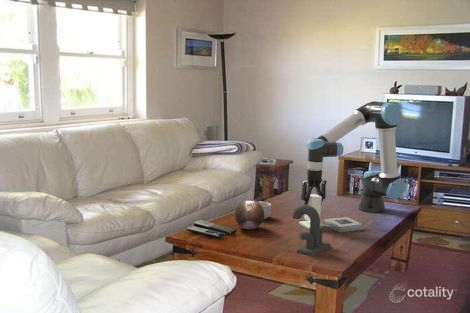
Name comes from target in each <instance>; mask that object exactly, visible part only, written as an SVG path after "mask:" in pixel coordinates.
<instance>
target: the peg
mask: <svg viewBox="0 0 470 313" xmlns="http://www.w3.org/2000/svg"><path fill="white" fill-rule="evenodd" d="M321 200H322V197H321V196H319V195H317V193H313V194H312V193H311V194H310V198H309V202H310V206H312V207H313V208H315V209H316V211H317V212H318V214H319V216H320V220H321V218H322V217H321V216H322V214H321V213H322V206H321ZM304 220H305V221H309V222H310V217H309V216H308V215H306V214H304Z"/></svg>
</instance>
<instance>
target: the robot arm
mask: <svg viewBox="0 0 470 313" xmlns="http://www.w3.org/2000/svg"><path fill="white" fill-rule="evenodd" d="M401 119H402V111H401V108H400V107H399V106H398V105H397V104H396V103H392V102H387V101H376V100H375V101H369V102H367V103H365V104H363V105H361V106H360V107H358V108H356V109H355V110H353V111H352V114H351V115H349V116H348V117H346V118H345V119H343V120H342V121H340V122H339V123H337V124H336V125H335V126H333V127H331V128H329V130H326V131H325V132H324V133H323V134H321V135H320V136H318V137H317V138H315V137H314V138H313V137H311V138H310V139H308V140H307V142H306V148H307V150H308V154H307V155H308V156H307V158H308V159H307V173H306V174H307V175H306V176H307V178H306V180H302V181H301V185H302V186H301V198H300V200H302V201H303V202H304V204H303V205H310V202H309V198H310V194H312V191H313V190H314V188H315V191H316V194H317V195H319V196H321V197H322V200H321V207H322V205H323V202H324V200H326V199H327V198H326V196H327V195H326V192H327V189H326V187H327V186H326V185H327V180H325V179H322V177H323V165H324V164H323V163H324V162H323V161H324V158H337V157H341V156H342V155H343V154H344V146H343V143H341V142H340V140H341V139H342V138H344V137H346V135H348V134H349V133H351V132H353V131H354V130H356V129H357V128H358V127H360V126H365V125H366V124H368V123H374V124H375V125H374V127H375V129H376V130H377V131H378V143H379V157H380V170H366V171H364V172H363V178H362V193H361V194H362V195H361V198H360V201H359V203H358V210H360V211H362V212H365V213H366V212H367V213H373V214H374V213H375V214H377V213H383V212H385V210H386V206H385V202H384V197H386V198H388V199H393V200H396V199H399V198H400V197H401V196H403V194H405V193H404V192H405V190H406V183H405V181H404V180H403V179H402V178H401V173H400V172H399V171H398V165H397V164H398V163H397V145H396V143H397V142H396V129H397V127H398V124H399V123H400V122H401ZM338 141H339V142H338Z"/></svg>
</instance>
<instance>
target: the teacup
mask: <svg viewBox="0 0 470 313" xmlns="http://www.w3.org/2000/svg"><path fill="white" fill-rule="evenodd" d="M257 202H258V203H259V204H260V205H261V206H262V207H263V210H264V219H263V220H266V219H269V217H270V216H271V214H272V213H271V212H272V203H270V202H268V201H261V200H260V201H257Z"/></svg>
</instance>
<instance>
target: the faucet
mask: <svg viewBox="0 0 470 313" xmlns="http://www.w3.org/2000/svg"><path fill="white" fill-rule="evenodd" d="M305 214H306V215H308V216H309V217H310V229H309V232H307V231H304V232H302V231H301V232H299V235H298V238H299V240H300V241H305V244H304V245H302V246H301V247H299V248H298V249H296V253H298V254H302V255H307V256H308V257H309V256H311V257H315V256H317V255H319V254H320V253H322V252H323V251H325V250H327V249H328V248H330V247H331V243H329V242H327V241H323V234H324V233H325V232H326V231H327V230H328V229H327V226H326V225H325V226H324V225H321V226H320V223H321V219H320V216H319V214H318V212H317V211H316V209H315V208H313V207H312V206H310V205H304V204H301V205H298V206H297V207H296V208H295V209H294V210H293V212H292V215H291V218H292V219H295V220H300V219H301V218H303V217H302V216H305Z"/></svg>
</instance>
